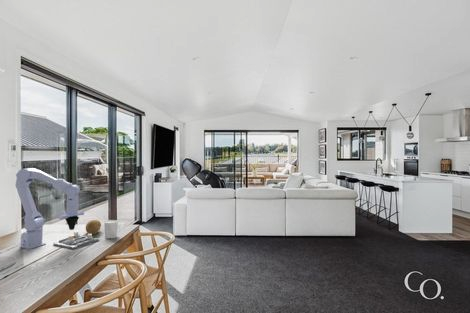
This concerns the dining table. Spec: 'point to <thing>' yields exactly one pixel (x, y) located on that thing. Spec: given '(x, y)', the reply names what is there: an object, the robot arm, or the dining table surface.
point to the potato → (93, 227)
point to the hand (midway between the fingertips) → (71, 229)
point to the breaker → (70, 239)
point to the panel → (76, 241)
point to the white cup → (111, 228)
